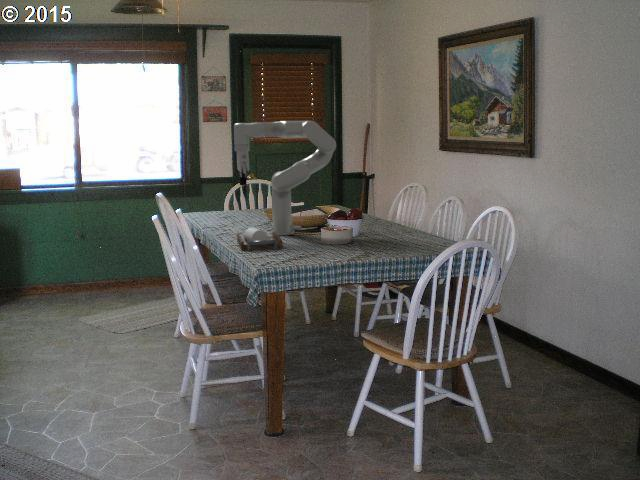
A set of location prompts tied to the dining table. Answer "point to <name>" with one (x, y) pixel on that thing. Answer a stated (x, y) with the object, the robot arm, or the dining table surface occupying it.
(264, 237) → the mug
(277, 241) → the frame
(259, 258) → the dining table surface
